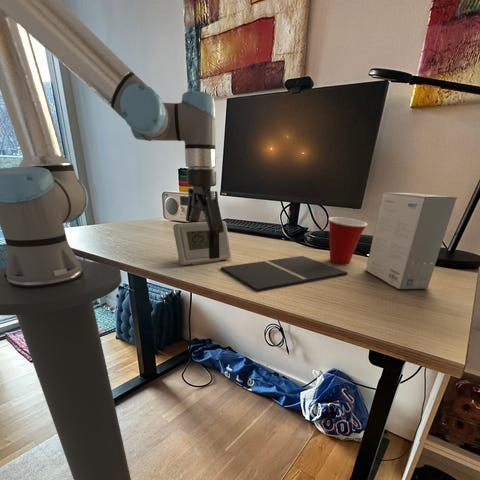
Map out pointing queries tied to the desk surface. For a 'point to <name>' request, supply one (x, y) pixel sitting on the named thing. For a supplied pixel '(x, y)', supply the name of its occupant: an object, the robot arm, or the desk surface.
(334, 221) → the plastic cup
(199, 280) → the desk surface
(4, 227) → the robot arm
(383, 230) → the hard drive box
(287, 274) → the desk mat
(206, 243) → the digital clock
